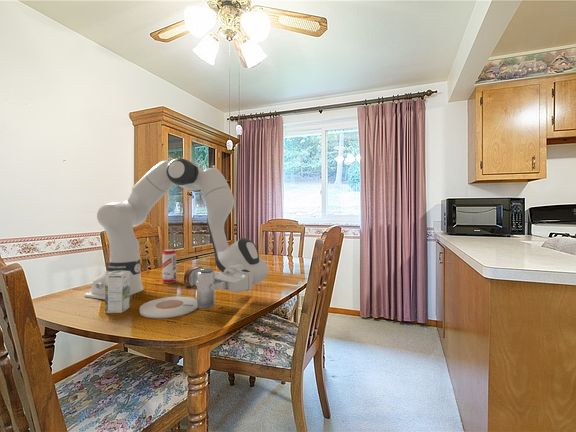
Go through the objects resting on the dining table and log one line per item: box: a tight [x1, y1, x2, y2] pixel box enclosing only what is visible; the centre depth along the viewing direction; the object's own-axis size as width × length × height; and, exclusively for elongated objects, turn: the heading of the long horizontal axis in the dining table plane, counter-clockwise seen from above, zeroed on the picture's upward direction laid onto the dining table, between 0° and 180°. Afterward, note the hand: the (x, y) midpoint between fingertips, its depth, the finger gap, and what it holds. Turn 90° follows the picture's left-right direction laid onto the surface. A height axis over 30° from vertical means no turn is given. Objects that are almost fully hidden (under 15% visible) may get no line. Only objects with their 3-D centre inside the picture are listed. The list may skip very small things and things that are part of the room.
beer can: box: [161, 248, 177, 285], centre depth 147 cm, size 6×6×16 cm
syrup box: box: [104, 270, 131, 314], centre depth 104 cm, size 6×6×14 cm
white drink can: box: [196, 267, 216, 309], centre depth 98 cm, size 6×6×12 cm
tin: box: [183, 265, 204, 288], centre depth 143 cm, size 15×3×8 cm, turn 169°
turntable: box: [139, 296, 198, 319], centre depth 105 cm, size 19×19×2 cm
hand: (203, 285), depth 97 cm, fingers closed on white drink can, 5 cm apart
